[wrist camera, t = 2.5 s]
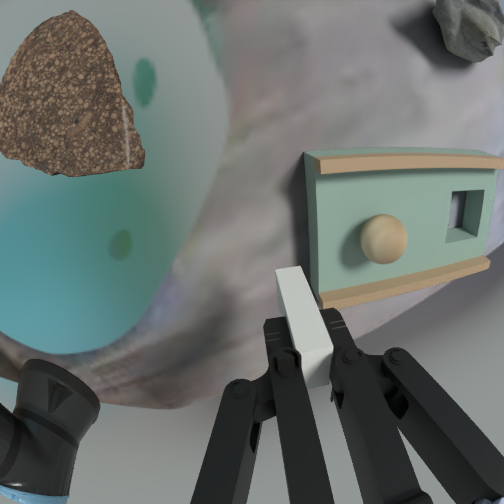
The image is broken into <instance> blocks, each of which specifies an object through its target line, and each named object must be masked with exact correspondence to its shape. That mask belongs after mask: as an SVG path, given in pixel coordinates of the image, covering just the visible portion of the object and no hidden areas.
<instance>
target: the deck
mask: <svg viewBox="0 0 504 504" xmlns="http://www.w3.org/2000/svg"><path fill="white" fill-rule="evenodd" d="M304 164H305V177H306V191H307V207H308V226H309V250H310V284H311V286H312V288H313V291H314V293H315V295H316V297H317V299H318V301H319V304H320V306H321V308H322V309H327V308H332V307H334V308H335V309H338V308H343V307H348V306H352V305H357V304H361V303H366V302H370V301H375V300H379V299H383V298H387V297H391V296H395V295H399V294H403V293H407V292H411V291H415V290H418V289H422V288H426V287H429V286H433V285H437V284H440V283H443V282H447V281H450V280H454V279H457V278H460V277H463V276H467V275H470V274H473V273H476V272H479V271H482V270H485V269H488V268H489V265H490V260H489V259H487V258H486V257H485V256H484V255H483V254H484V249H485V245H486V241H487V236H488V231H489V226H490V221H491V215H492V209H493V202H494V195H495V186H496V177H497V169H504V159H503V158H500V157H498V156H495V155H492V154H489V153H486V152H482V151H477V150H464V149H447V148H416V147H386V148H353V149H334V150H320V151H307V152H304ZM452 191H466V199H465V207H464V215H463V221H462V227H457V228H451V229H447V228H448V222H449V214H450V206H451V197H452ZM378 214H388V215H391V216H394V217H395V218H397V219H398V220H399V221H400V222H401V223H402V224H403V226H404V227H405V230H406V233H407V246H406V249H405V251H404V253H403V255H402V256H401V257H400V258H399V259H398V260H397V261H395V262H393V263H390V264H377V263H374V262H372V261H371V260H369V259H368V258H367V257H366V256H365V254H364V253H363V251H362V249H361V246H360V232H361V229H362V227H363V225H364V224H365V222H366V221H367V220H368V219H370V218H371V217H373V216H375V215H378Z"/></svg>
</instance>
